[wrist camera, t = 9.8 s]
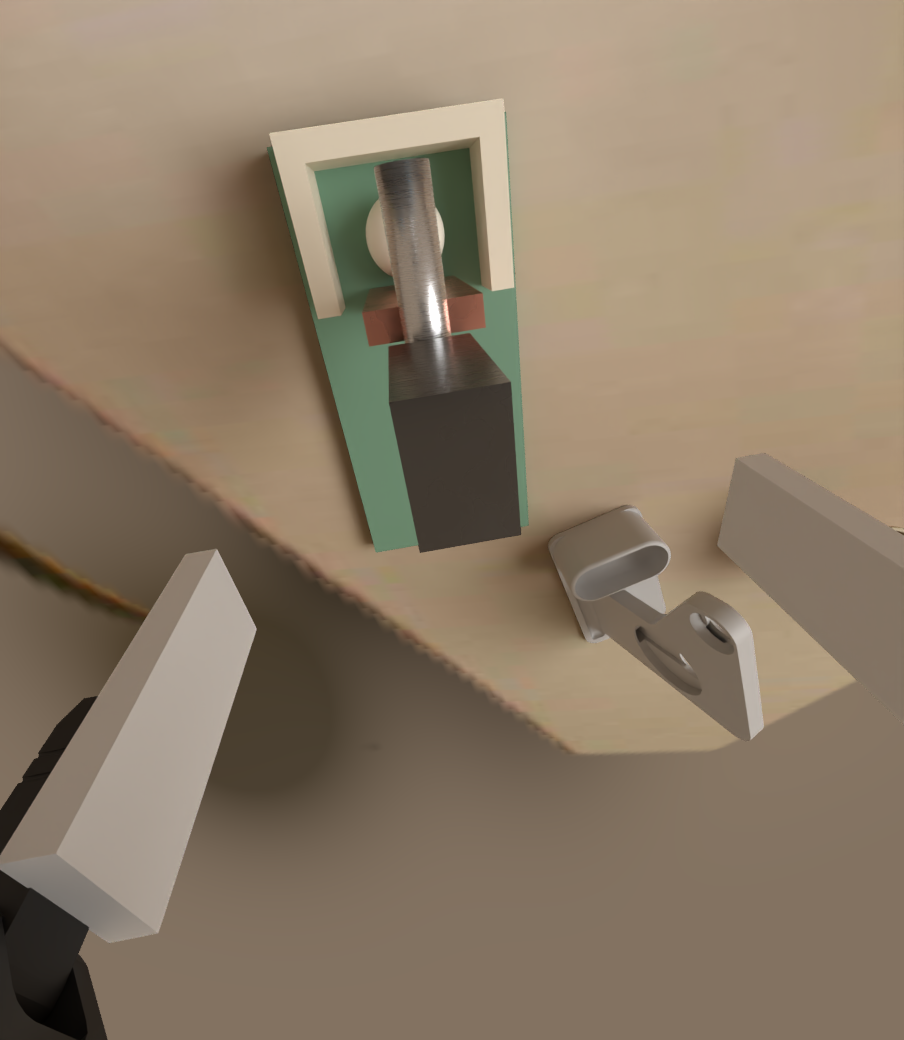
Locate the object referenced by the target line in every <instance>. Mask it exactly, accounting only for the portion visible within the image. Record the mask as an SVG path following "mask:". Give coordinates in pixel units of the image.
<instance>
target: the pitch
mask: <svg viewBox="0 0 904 1040" xmlns="http://www.w3.org/2000/svg"><path fill="white" fill-rule="evenodd" d="M269 135H270V139H271V143H272V147H267V150H268V154H269V158H270V162H271V165H272V169H273V173H274V176H275V180H276V184H277V188H278V191H279V195H280V199H281V202H282V206H283V210H284V213H285V217H286V221H287V225H288V228H289V232H290V236H291V239H292V243H293V247H294V251H295V254H296V258H297V262H298V265H299V269H300V273H301V276H302V280H303V284H304V288H305V291H306V295H307V299H308V302H309V306H310V310H311V314H312V317H313V321H314V325H315V328H316V332H317V336H318V340H319V343H320V347H321V351H322V354H323V358H324V362H325V365H326V369H327V373H328V377H329V380H330V384H331V388H332V391H333V395H334V399H335V403H336V406H337V410H338V414H339V417H340V421H341V425H342V428H343V432H344V436H345V440H346V443H347V447H348V451H349V454H350V458H351V462H352V466H353V469H354V473H355V477H356V480H357V484H358V488H359V492H360V495H361V499H362V503H363V506H364V510H365V514H366V517H367V521H368V525H369V529H370V532H371V536H372V540H373V543H374V547H375V551H376V552H382V551H387V550H393V549H399V548H404V547H410V546H416V545H418V541H417V536H416V531H415V526H414V522H413V517H412V512H411V507H410V502H409V498H408V493H407V488H406V483H405V478H404V474H403V469H402V464H401V459H400V454H399V450H398V445H397V440H396V435H395V430H394V426H393V421H392V416H391V411H390V406H389V369H388V346H392V345H398V344H405V342H404V341H401V342H395V343H388V344H382V345H376V346H370V347H369V343H368V339H367V334H366V330H365V325H364V320H363V316H362V311H363V308H364V305H365V302H366V299H367V296H368V293H369V290H370V289H372V288H378V287H385V286H391V285H394V280H393V277H392V276H390V275H388V274H387V273H385V272H384V271H383V270H382V269H380V267H379V266H378V265H377V264H376V263H375V261H374V260H373V258H372V256H371V254H370V252H369V249H368V246H367V241H366V223H367V218H368V215H369V212H370V210H371V208H372V206H373V205H374V204H375V202H376V201H377V200H378V199H379V195H378V190H377V184H376V179H375V173H374V167H375V166H377V165H380V164H384V163H388V162H393V161H398V160H405V159H413V158H428V159H429V162H430V170H431V178H432V186H433V194H434V202H435V207H436V209H437V210H438V212H439V214H440V216H441V219H442V222H443V226H444V235H445V236H444V247H443V251H442V254H441V257H442V265H443V273H444V277H447V276H453V275H454V276H455V277H457V278H459V279H460V280H462V281H464V282H465V283H467V284H469V285H470V286H472V287H473V288H475V289H477V290H478V291H480V292H482V293H483V301H484V313H485V324H486V328H480V329H474V330H468V331H462V332H456V333H451V336H453V335H460V334H466V333H470V334H471V335H472V336H473V337H474V338H475V340H476V341H477V342H478V343H479V344H480V346H481V347H482V348H483V349H484V350H485V352H486V353H487V354H488V355H489V356H490V357H491V359H492V360H493V361H494V362H495V363H496V365H497V366H498V367H499V368H500V369H501V371H502V372H503V373H504V374H505V375H506V377H507V378H508V379H509V380H510V381H511V389H512V404H513V419H514V434H515V450H516V465H517V480H518V495H519V510H520V525H521V527H523V526H529V522H528V504H527V485H526V467H525V449H524V431H523V413H522V394H521V376H520V358H519V340H518V321H517V303H516V285H515V267H514V249H513V230H512V212H511V194H510V176H509V158H508V139H507V121H506V112H504V98H501V99H495V100H488V101H481V102H475V103H468V104H461V105H454V106H448V107H441V108H434V109H428V110H421V111H414V112H407V113H401V114H394V115H387V116H381V117H374V118H367V119H361V120H354V121H347V122H340V123H334V124H327V125H320V126H314V127H307V128H300V129H293V130H287V131H280V132H273V133H269Z"/></svg>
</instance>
